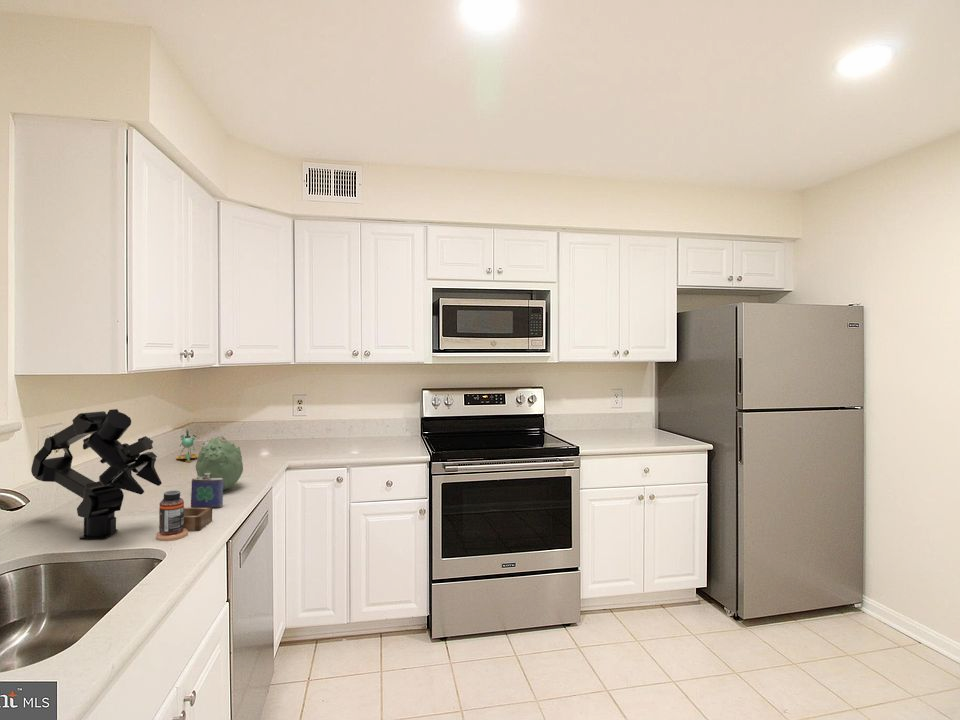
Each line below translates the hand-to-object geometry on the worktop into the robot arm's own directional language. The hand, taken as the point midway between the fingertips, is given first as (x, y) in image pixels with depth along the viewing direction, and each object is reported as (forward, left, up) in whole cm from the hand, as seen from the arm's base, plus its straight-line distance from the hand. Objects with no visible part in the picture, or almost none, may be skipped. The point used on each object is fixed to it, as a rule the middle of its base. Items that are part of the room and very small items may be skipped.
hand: (151, 488), depth 146 cm
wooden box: (+6, +9, -13) cm, 17 cm away
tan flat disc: (+6, 0, -13) cm, 14 cm away
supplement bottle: (+5, 0, -12) cm, 14 cm away
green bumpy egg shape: (0, +48, -13) cm, 49 cm away
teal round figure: (-35, +101, -14) cm, 107 cm away
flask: (+4, +27, -14) cm, 30 cm away
